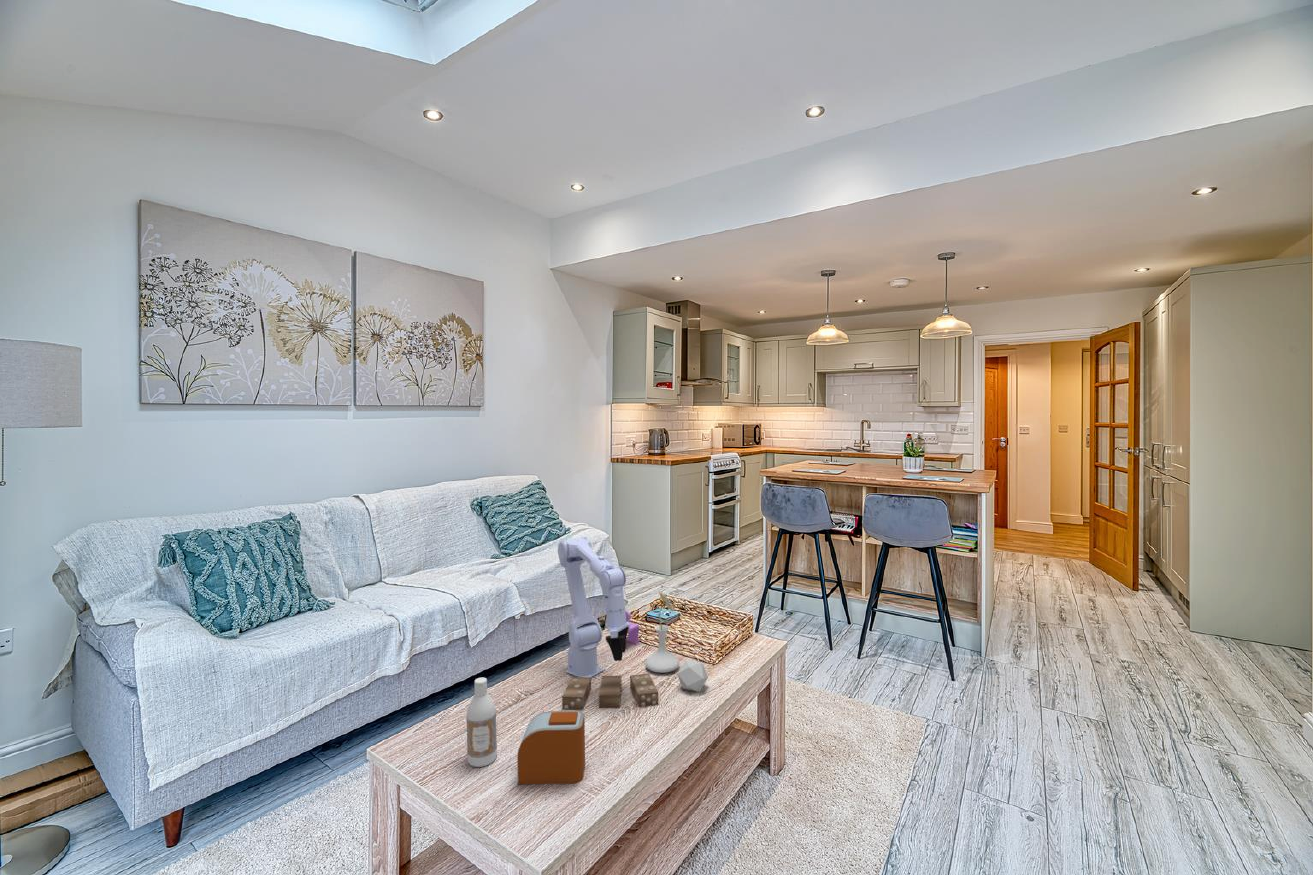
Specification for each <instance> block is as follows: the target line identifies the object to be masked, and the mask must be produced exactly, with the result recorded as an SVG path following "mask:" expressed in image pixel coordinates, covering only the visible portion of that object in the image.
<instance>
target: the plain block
mask: <svg viewBox="0 0 1313 875" xmlns="http://www.w3.org/2000/svg"><path fill="white" fill-rule="evenodd" d="M622 684H623V683H622V675H602V676H601V681H600V686H599V693H598V708H599V709H615V708H616V709H620V707H621V697H622V687H623V686H622Z"/></svg>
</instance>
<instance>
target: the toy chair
mask: <svg viewBox="0 0 1313 875" xmlns="http://www.w3.org/2000/svg"><path fill="white" fill-rule="evenodd" d="M625 614H626V623H630V624H631V625H630V626H629V629H628V633H627V637H626V642H627V641H628V642H630V643H633V644H636V645H640V640H639V633H640V632H639V631H640V626H639V624H637V623H634V622H630V621H631V619H632V614H631V612H629V610H627V609H626V608H625Z"/></svg>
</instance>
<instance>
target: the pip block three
mask: <svg viewBox="0 0 1313 875" xmlns="http://www.w3.org/2000/svg"><path fill="white" fill-rule="evenodd" d="M564 690H565V691H564V692H563V694H562V696H561V704H562V705H561V707H562V708H561V710H565V711H583V710H584V707H585V706H586V702H588V701H587V700H588V698H589V697H590V692H591V690H592V677H577V676H572V677H571V678H570V680H569V682H568V684H567V686H566V688H565V689H564Z"/></svg>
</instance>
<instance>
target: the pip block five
mask: <svg viewBox="0 0 1313 875" xmlns="http://www.w3.org/2000/svg"><path fill="white" fill-rule="evenodd" d="M629 678H630V679H629V681H630V682H629V683H630V686H629V687H630V690H631V692H632V694H633V697H634V700H635V703H636V705H637V707H638V708H644V707H649V706H656V705H659V691H658V688H657V686H656V685H655V683H654V681H653V679H652V676H651V674H650V673H641V674H640V673H639V674H632V675H631V674H630V676H629Z"/></svg>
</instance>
